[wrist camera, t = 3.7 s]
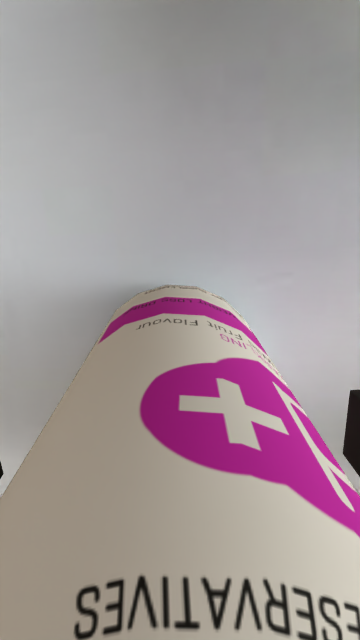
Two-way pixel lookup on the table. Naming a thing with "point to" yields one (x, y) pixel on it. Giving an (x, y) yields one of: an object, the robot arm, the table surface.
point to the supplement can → (179, 494)
